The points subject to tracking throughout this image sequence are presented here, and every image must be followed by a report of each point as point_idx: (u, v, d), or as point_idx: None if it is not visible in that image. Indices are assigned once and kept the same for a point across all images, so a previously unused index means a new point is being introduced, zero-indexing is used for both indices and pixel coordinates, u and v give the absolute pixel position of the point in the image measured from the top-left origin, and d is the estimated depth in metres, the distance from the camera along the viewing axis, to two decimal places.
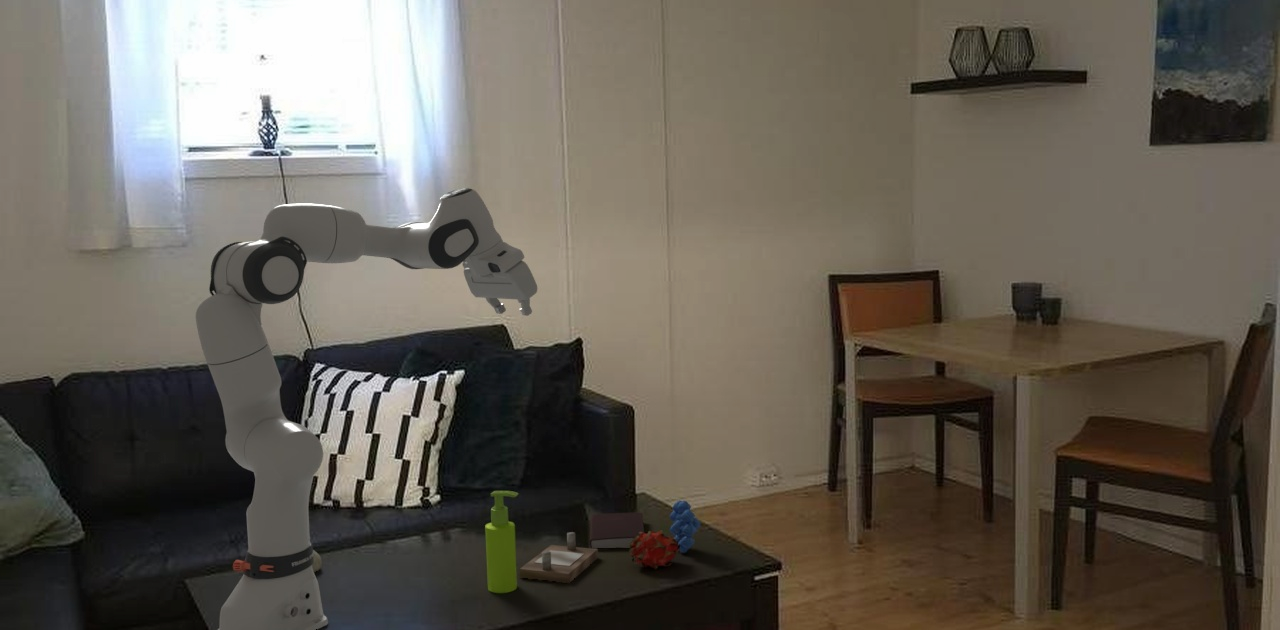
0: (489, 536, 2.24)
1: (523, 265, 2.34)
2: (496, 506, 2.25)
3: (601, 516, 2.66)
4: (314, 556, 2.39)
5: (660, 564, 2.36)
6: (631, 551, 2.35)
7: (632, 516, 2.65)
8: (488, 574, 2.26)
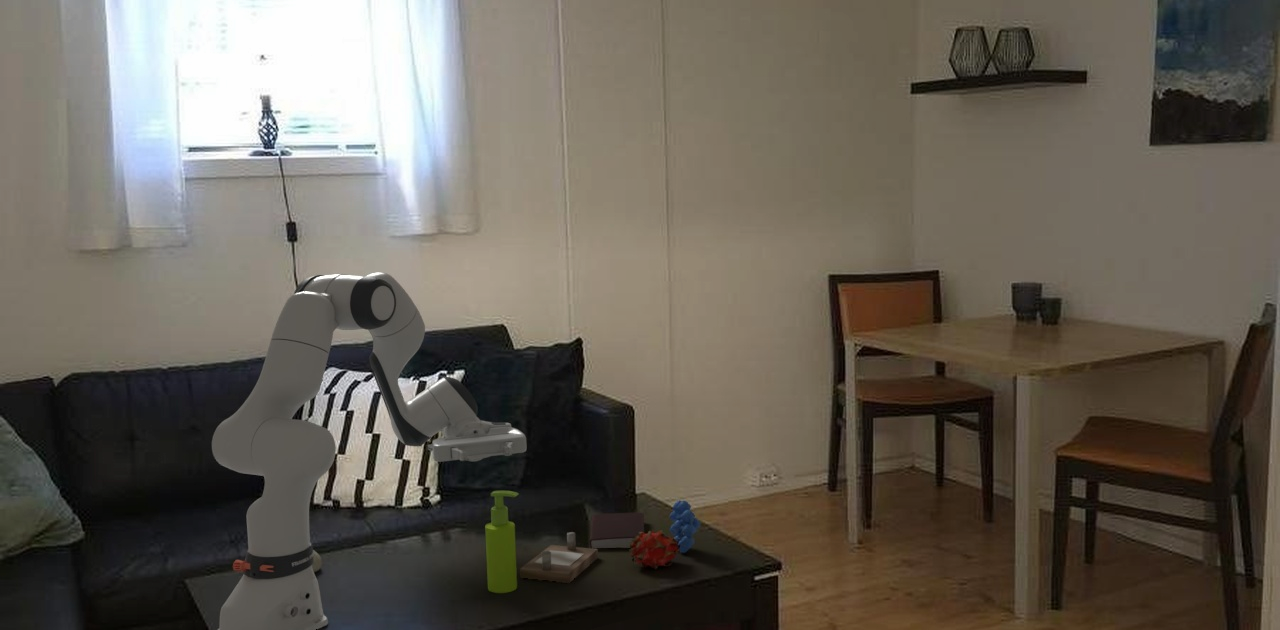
0: (489, 536, 2.24)
1: None
2: (496, 506, 2.25)
3: (602, 516, 2.66)
4: (314, 556, 2.39)
5: (660, 564, 2.36)
6: (631, 551, 2.35)
7: (633, 517, 2.65)
8: (488, 574, 2.26)
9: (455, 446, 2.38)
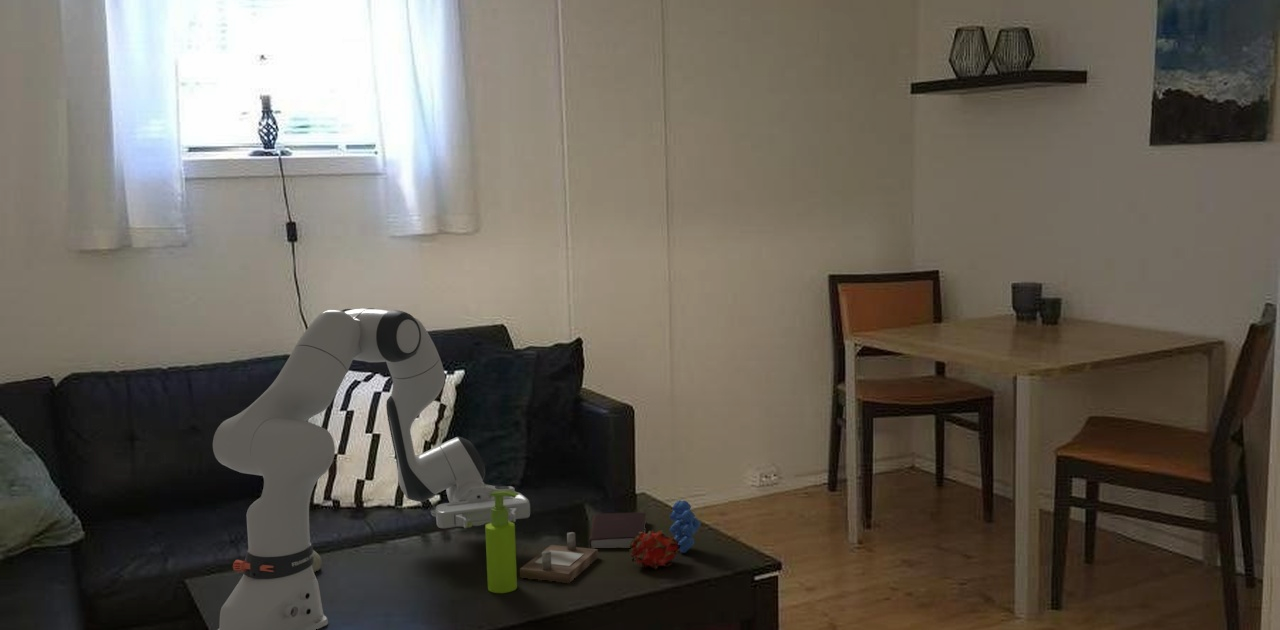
0: (489, 536, 2.24)
1: None
2: (496, 506, 2.25)
3: (604, 516, 2.67)
4: (314, 556, 2.39)
5: (660, 564, 2.36)
6: (631, 551, 2.35)
7: (635, 517, 2.65)
8: (488, 574, 2.26)
9: (459, 513, 2.38)
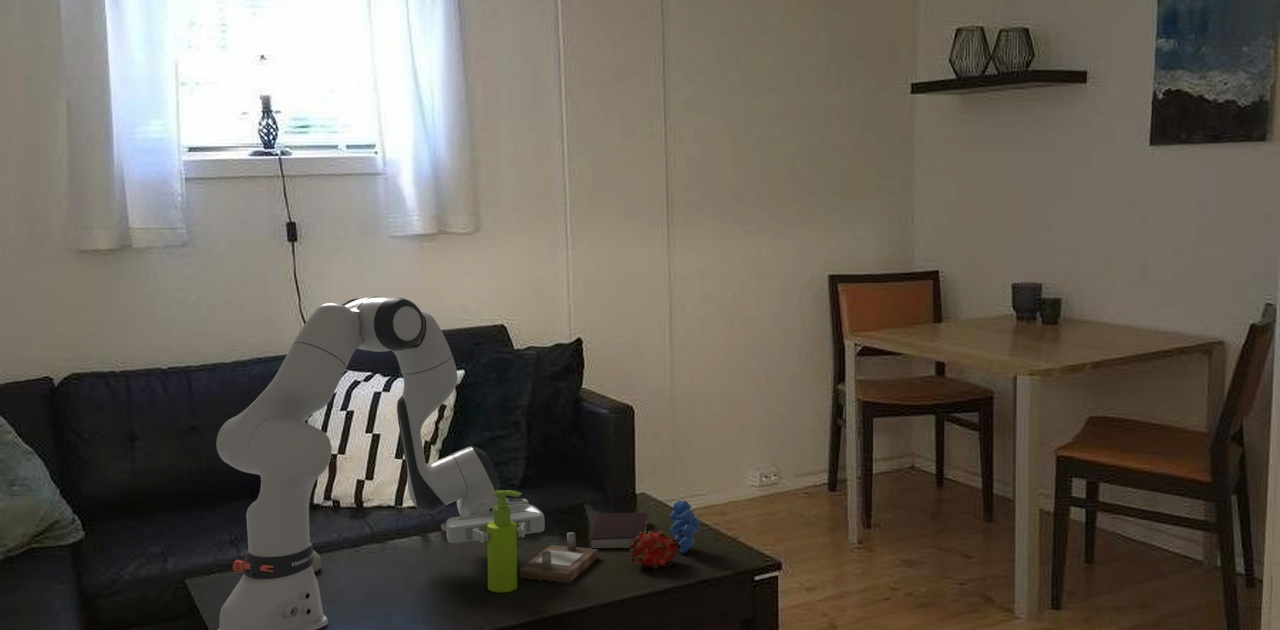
0: (491, 535, 2.24)
1: None
2: (499, 505, 2.25)
3: (606, 515, 2.67)
4: (314, 556, 2.39)
5: (660, 564, 2.36)
6: (631, 551, 2.35)
7: (636, 517, 2.65)
8: (489, 573, 2.26)
9: (470, 527, 2.27)
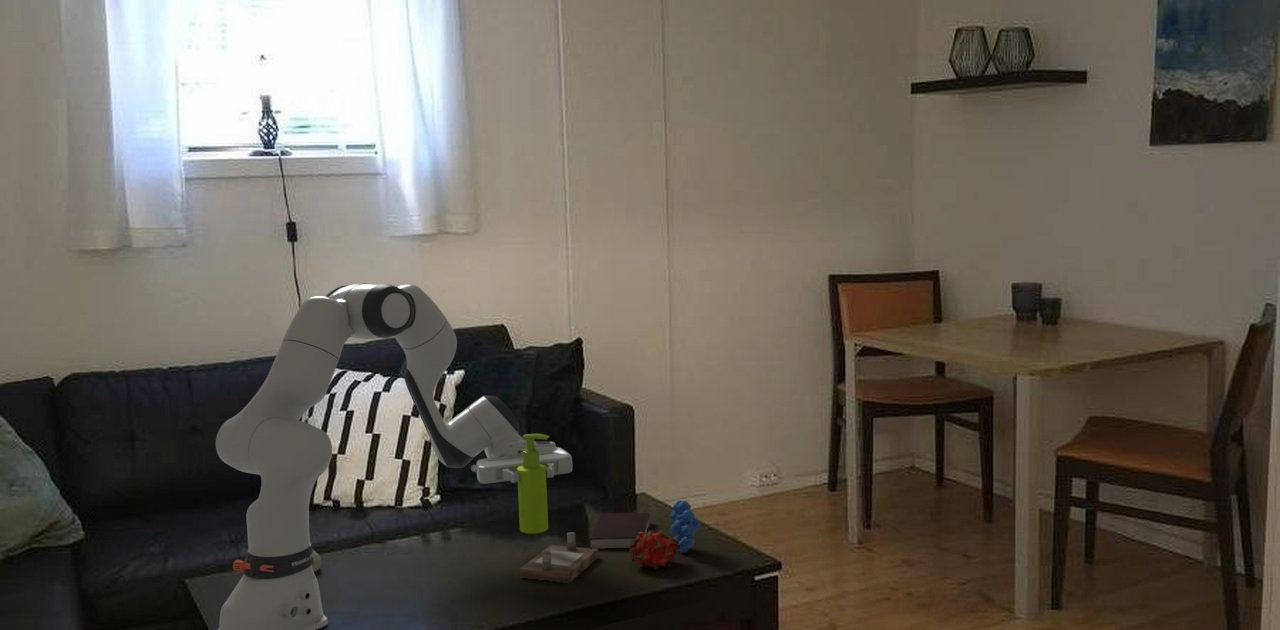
0: (521, 478, 2.29)
1: None
2: (528, 449, 2.30)
3: (608, 515, 2.67)
4: (314, 556, 2.39)
5: (660, 564, 2.36)
6: (631, 551, 2.35)
7: (638, 517, 2.64)
8: (520, 515, 2.31)
9: (501, 467, 2.32)
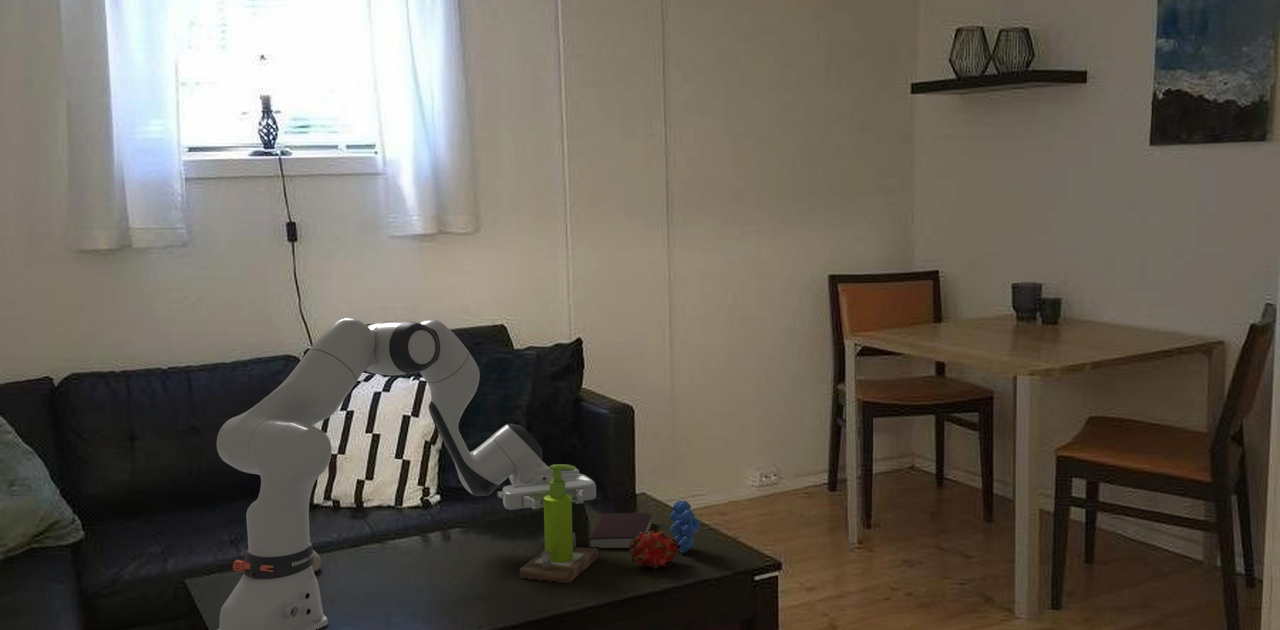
0: (548, 507, 2.35)
1: None
2: (554, 479, 2.36)
3: (610, 515, 2.67)
4: (314, 556, 2.39)
5: (660, 564, 2.36)
6: (631, 551, 2.35)
7: (640, 517, 2.64)
8: (546, 544, 2.36)
9: (527, 494, 2.38)
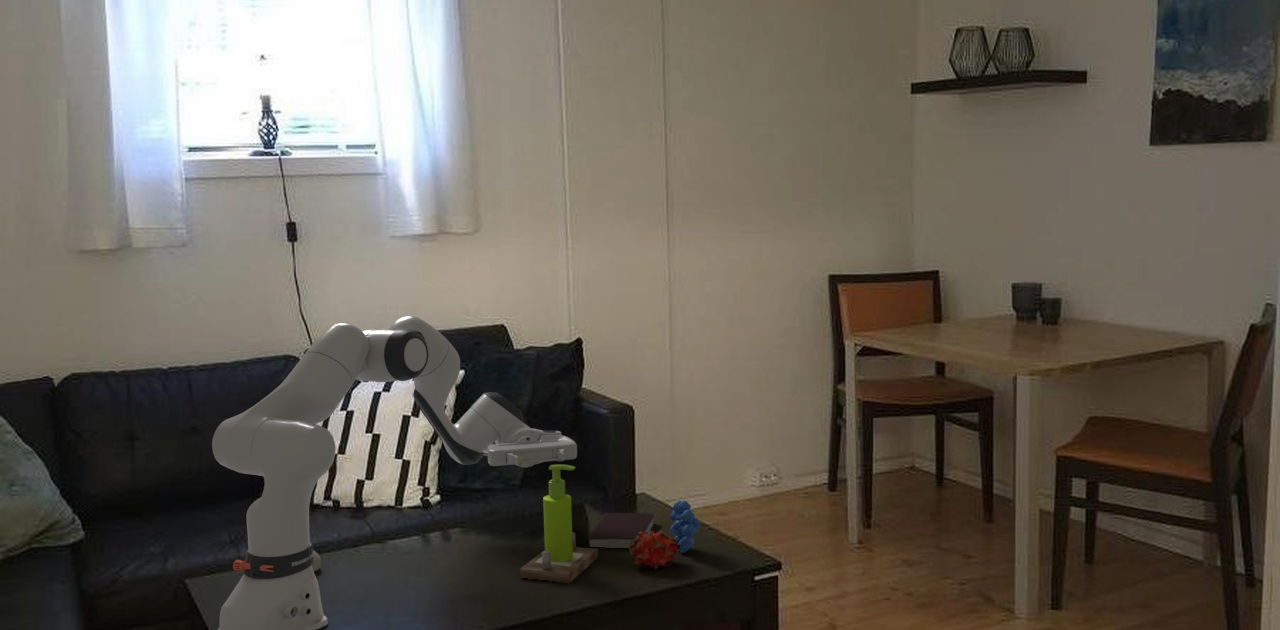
0: (547, 508, 2.35)
1: None
2: (554, 479, 2.36)
3: (612, 515, 2.67)
4: (313, 556, 2.39)
5: (660, 564, 2.36)
6: (631, 551, 2.35)
7: (641, 517, 2.64)
8: (546, 544, 2.36)
9: (510, 451, 2.49)
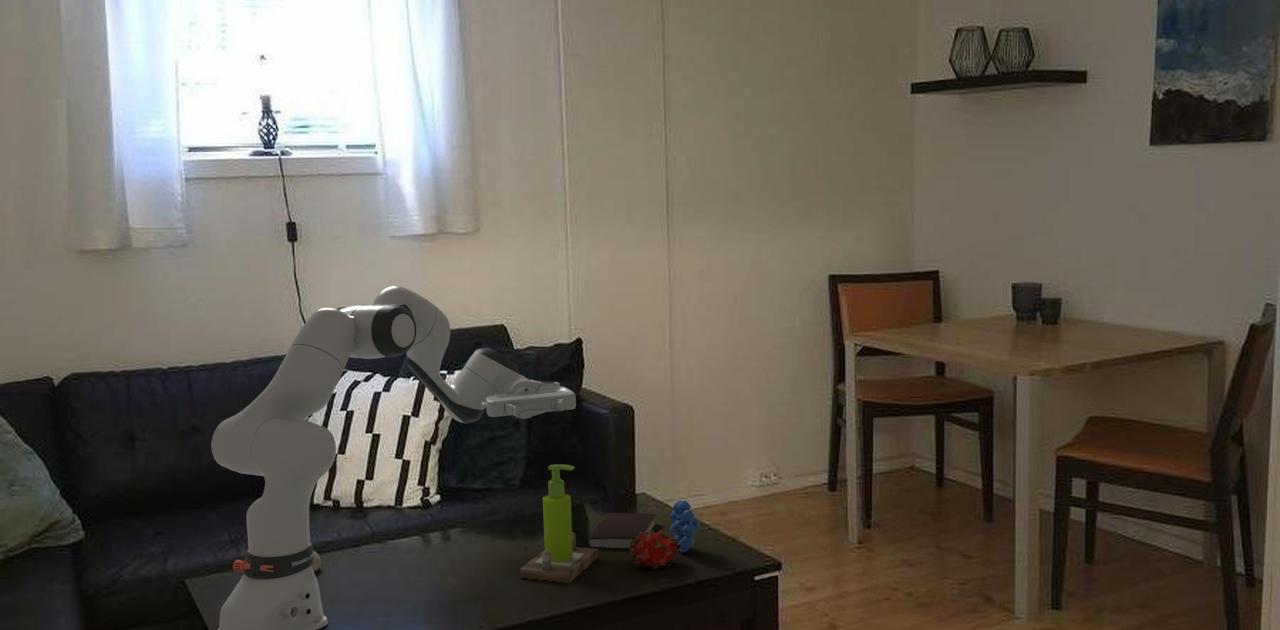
0: (547, 508, 2.35)
1: None
2: (553, 479, 2.36)
3: (613, 515, 2.67)
4: (313, 556, 2.39)
5: (660, 564, 2.36)
6: (631, 551, 2.35)
7: (643, 517, 2.64)
8: (546, 544, 2.36)
9: (509, 402, 2.48)
